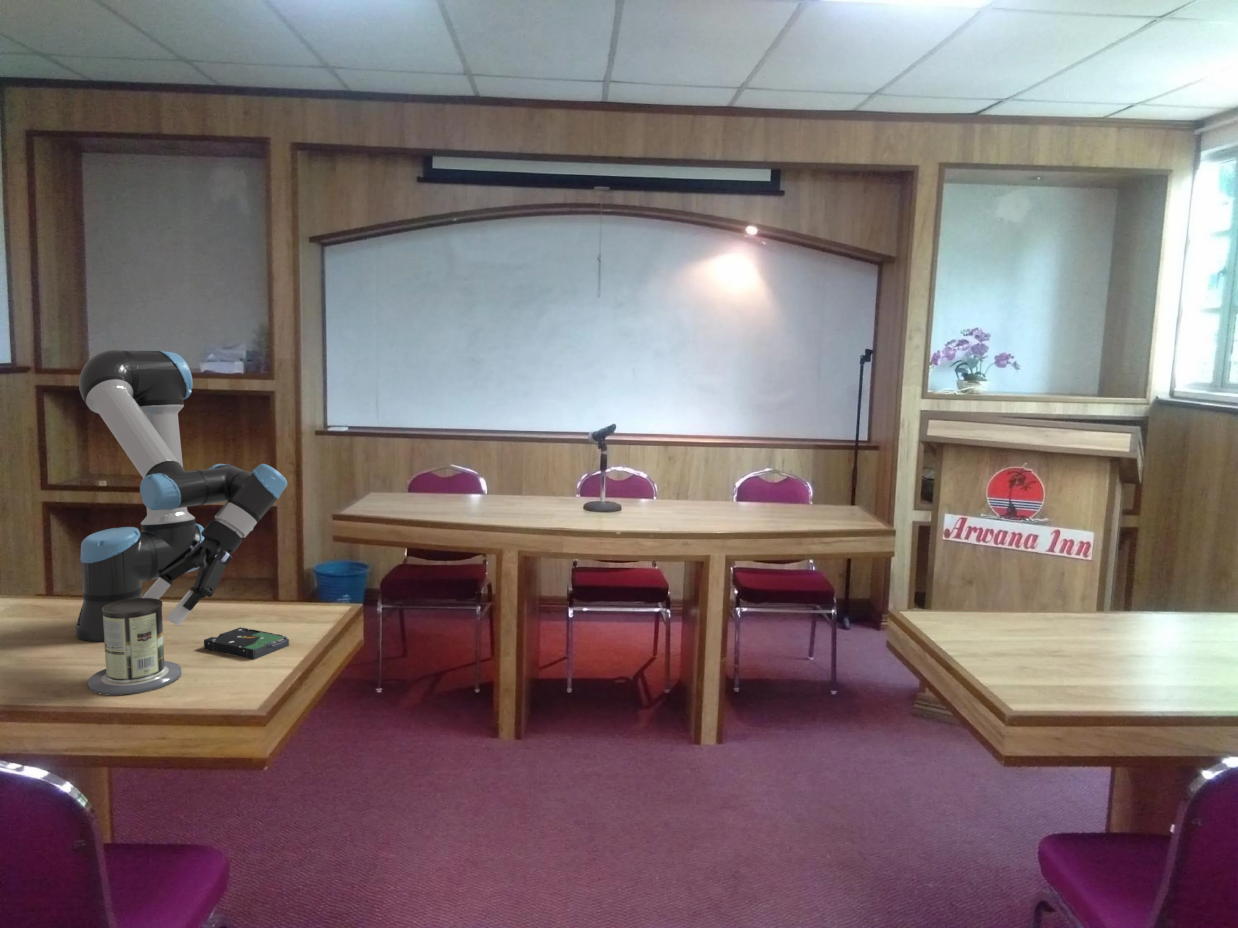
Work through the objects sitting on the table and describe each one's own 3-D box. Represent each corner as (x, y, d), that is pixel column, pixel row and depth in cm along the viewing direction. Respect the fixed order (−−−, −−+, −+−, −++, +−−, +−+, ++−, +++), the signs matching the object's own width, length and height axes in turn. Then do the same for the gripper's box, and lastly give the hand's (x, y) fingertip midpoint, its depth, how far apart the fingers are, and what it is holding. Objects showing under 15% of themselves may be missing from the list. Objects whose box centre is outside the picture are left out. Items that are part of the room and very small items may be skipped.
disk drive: (202, 652, 186) (254, 661, 180) (202, 639, 186) (254, 649, 180) (240, 638, 195) (290, 647, 190) (239, 626, 195) (290, 634, 190)
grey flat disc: (67, 691, 161) (67, 685, 161) (128, 662, 177) (128, 657, 177) (144, 698, 159) (143, 692, 159) (198, 668, 175) (198, 663, 174)
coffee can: (133, 662, 174) (131, 595, 172) (176, 667, 172) (174, 600, 170) (92, 680, 164) (88, 609, 162) (137, 686, 162) (134, 614, 160)
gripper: (271, 549, 173) (200, 638, 163) (213, 530, 188) (145, 611, 179) (245, 527, 168) (170, 618, 158) (187, 510, 184) (116, 591, 174)
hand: (156, 614), depth 169 cm, fingers open, 13 cm apart
